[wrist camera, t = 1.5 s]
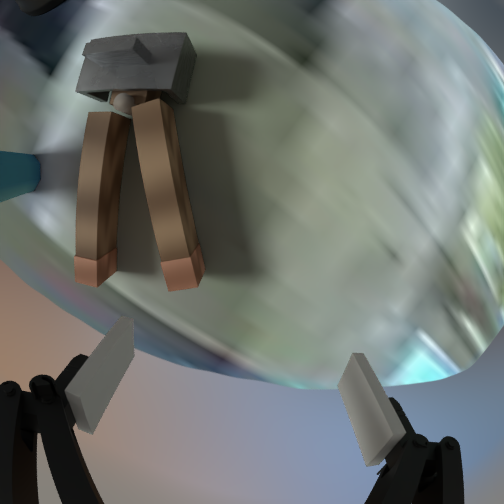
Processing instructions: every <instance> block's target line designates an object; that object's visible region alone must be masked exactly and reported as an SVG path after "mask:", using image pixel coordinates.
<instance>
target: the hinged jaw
mask: <svg viewBox="0 0 504 504" xmlns="http://www.w3.org/2000/svg"><path fill="white" fill-rule="evenodd" d="M131 108H132V116H133V124H134V131H135V137H136V144H137V150H138V156H139V162H140V167H141V173H142V178H143V183H144V188H145V193H146V198H147V203H148V207H149V212H150V216H151V221H152V225H153V229H154V234H155V238H156V242H157V246H158V250H159V253H160V257H161V262H160V263H161V266H162V270H163V273H164V277H165V281H166V284H167V287H168V291H176V290H183V289H189V288H196V287H198V286H199V283H200V281H201V279H202V276H203V274H204V272H205V265H204V261H203V257H202V252H201V248H200V244H199V242H198V238H197V233H196V228H195V224H194V219H193V214H192V210H191V205H190V200H189V195H188V190H187V185H186V180H185V174H184V169H183V164H182V158H181V153H180V147H179V141H178V135H177V129H176V123H175V117H174V111H173V109H172V108H171V107H170V106H169V105H167V104H166V103H165V102H163V101H162V100H161V99H160V98H158V99H155V100H152V101H149V102H145V103H142V104H139V105H136V106H133V107H131Z"/></svg>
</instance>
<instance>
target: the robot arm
mask: <svg viewBox="0 0 504 504" xmlns="http://www.w3.org/2000/svg"><path fill="white" fill-rule="evenodd" d="M15 1H16V2H17V4H18V5H19V7H20V9H21V10H22V11H23V12H24V13H26V14H28V15H30V16H37V15H40V14H43V13H45V12H47V11H49V10H51V9H52V8H54V7H56V6H57V5H59V4H60V3H61V2H63V1H64V0H15ZM133 358H134V332H133V319H132V318H128V317H124V316H121V317H120V318H119V319H118V321H117V322H116V323H115V324H114V326H113V327H112V328H111V329H110V331H109V332H108V333H107V334H106V336H105V337H104V339H103V340H102V341H101V342H100V343H99V345H98V346H97V347H96V349H95V350H94V351H93V352H92V354H91V355H90V356H89V357H88V356H85V355H82V354H80V355H78V356H76V357H74V358H73V359H72V360H71V361H70V363H69V364H68V366H66V368H65V369H64V371H62V373H61V374H60V375H59V376H58V378H57V379H56V380H54V379H53V378H52V377H51V376H48V375H38V376H35V377H34V378H32V380H31V381H30V383H29V387H30V390H31V392H26V391H22V390H21V388H20V386H19V384H17V383H16V382H14V381H6V382H3V383H2V384H1V385H0V504H39V500H38V487H37V433H41V437H42V442H43V446H44V450H45V454H46V457H47V461H48V464H49V468H50V471H51V474H52V477H53V480H54V483H55V486H56V489H57V491H58V494H59V497H60V499H61V502H62V504H104V502H103V500H102V498H101V497H100V494H99V493H98V490H97V488H96V486H95V484H94V482H93V480H92V477H91V475H90V473H89V470H88V468H87V466H86V463H85V461H84V458H83V456H82V453H81V450H80V448H79V445H78V442H77V439H76V436H75V433H74V430H73V426H74V425H75V423H76V424H77V426H78V429H80V430H82V431H84V432H87V433H89V434H93V433H94V431H95V429H96V427H97V425H98V423H99V421H100V419H101V417H102V415H103V413H104V411H105V409H106V407H107V406H108V404H109V402H110V400H111V398H112V396H113V394H114V392H115V391H116V389H117V387H118V385H119V383H120V381H121V379H122V378H123V376H124V374H125V372H126V370H127V369H128V367H129V365H130V363H131V361H132V360H133ZM338 389H339V391H340V394H341V396H342V399H343V402H344V405H345V408H346V410H347V413H348V416H349V419H350V421H351V424H352V427H353V430H354V433H355V435H356V438H357V441H358V444H359V447H360V449H361V453H362V456H363V458H364V461H365V464H366V466H374V465H379V464H380V462H382V461H383V460H384V458H385V460H386V464H385V466H384V467H383V468H382V469H381V470H380V471H379V472H378V473H377V475H379V474H380V475H379V477H378V479H377V481H376V483H375V485H374V487H373V489H372V491H371V493H370V495H369V496H368V498H367V500H366V502H365V503H364V504H411V503H412V504H464V483H463V470H462V460H461V452H460V445H459V443H458V441H457V440H456V439H455V438H453V437H450V436H446V437H444V438H443V439H442V440H441V441H440V442H439V443H437V442H429V441H428V439H427V438H426V437H424V436H423V435H421V434H416V433H415V431H414V429H413V428H412V426H411V424H410V422H409V420H408V418H407V417H406V416H405V413H404V411H403V409H402V407H401V406H400V404H399V403H398V402H397V401H396V400H395V399H394V398H392V397H391V398H388V397H387V395H386V393H385V391H384V389H383V387H382V386H381V384H380V382H379V380H378V378H377V377H376V375H375V373H374V371H373V369H372V368H371V366H370V364H369V362H368V361H367V359H366V357H365V355H364V353H352V355H351V358H350V360H349V362H348V365H347V367H346V369H345V371H344V373H343V375H342V378H341V380H340V382H339V384H338Z"/></svg>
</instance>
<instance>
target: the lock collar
mask: <svg viewBox="0 0 504 504" xmlns="http://www.w3.org/2000/svg"><path fill="white" fill-rule="evenodd" d="M82 55H83V56H85V59H84V63H83V66H82V69H81V73H80V76H79V80H78V83H77V87H76V91H75V92H77V93H80V94H83V95H85V96H88V97H90V98H93V99H95V100H98V101H100V102H107V101H108V97H109V92H110V91H165V92H166V93H167V94H168V95H170V96H171V97H172V98H173V99H174V100H175V101H176V102H177V103H181V104H185V103H186V98H187V94H188V89H189V85H190V81H191V77H192V73H193V69H194V65H195V61H196V57H197V54H196V52H195V50H194V48H193V46H192V43H191V41H190V39H189V37H188V35H187V33H181V32H174V33H145V34H132V35H122V36H113V37H106V38H99V39H93V40H91V42H90V43H86V45H85V48H84V51H83V54H82Z"/></svg>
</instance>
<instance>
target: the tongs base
mask: <svg viewBox="0 0 504 504" xmlns="http://www.w3.org/2000/svg"><path fill="white" fill-rule="evenodd" d="M161 92H162V91H113V92H112V96H111V100H110V104H111V105H113V106H114V108H115V109H116V110H119V111H121V112H124V113H126V114H128V115H131V116H132V108H131V107H133V106H136V105H139V104H142V103H145V102H149V101H152V100H155V99H158V98H160V96H161ZM130 123H131V119H129V118H127V117H124V116H122V115H119V114H116V113H114V112H89V113H88V118H87V123H86V129H85V134H84V140H83V147H82V154H81V162H80V170H79V180H78V192H77V208H76V255H75V256H74V265H75V282H78V283H82V284H86V285H89V286H93V287H98V286H100V285H101V284H102V283H103V282H104V281H105V280H107V279H108V278H109V277H110V276H111V275H113V274H114V273H115V272H116V271H117V248H116V245H117V225H118V211H119V199H120V189H121V180H122V172H123V165H124V158H125V151H126V145H127V139H128V133H129V128H130Z"/></svg>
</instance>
